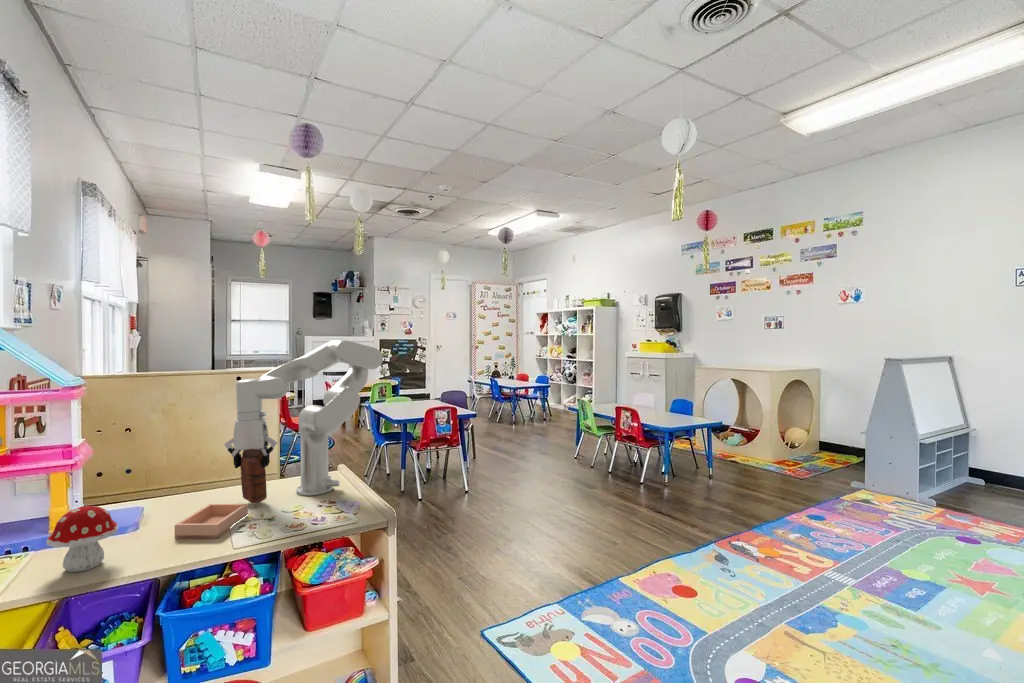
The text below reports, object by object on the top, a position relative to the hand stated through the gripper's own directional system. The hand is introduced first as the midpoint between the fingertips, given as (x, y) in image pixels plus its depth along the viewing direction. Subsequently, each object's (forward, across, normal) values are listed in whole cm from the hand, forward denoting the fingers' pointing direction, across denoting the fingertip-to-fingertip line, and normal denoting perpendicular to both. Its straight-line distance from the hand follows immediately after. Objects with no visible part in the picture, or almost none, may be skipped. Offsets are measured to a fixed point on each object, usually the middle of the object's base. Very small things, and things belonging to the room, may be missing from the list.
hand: (251, 466), depth 167 cm
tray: (+13, +3, +19) cm, 23 cm away
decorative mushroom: (+12, +21, +43) cm, 49 cm away
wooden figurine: (+11, 0, 0) cm, 11 cm away
